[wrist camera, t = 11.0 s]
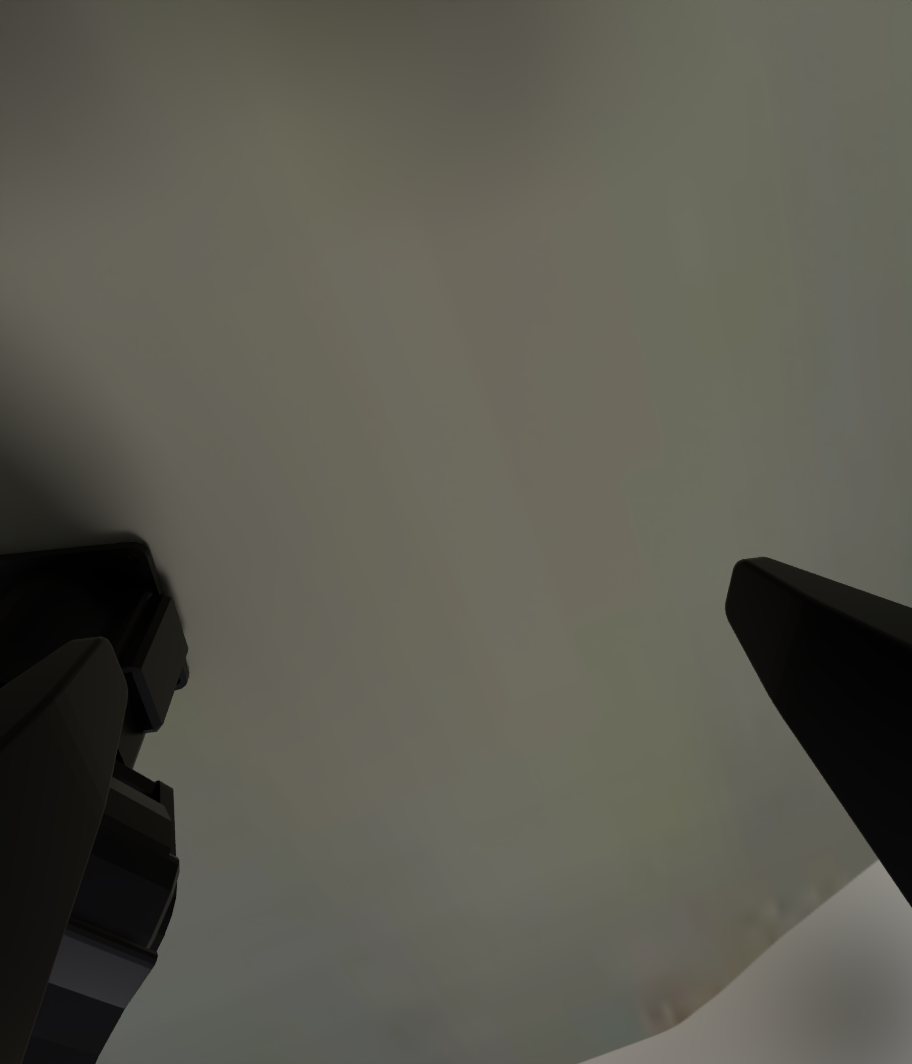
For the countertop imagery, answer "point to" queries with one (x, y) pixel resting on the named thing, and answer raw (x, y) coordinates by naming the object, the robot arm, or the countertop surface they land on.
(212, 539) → the countertop surface
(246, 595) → the countertop surface
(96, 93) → the countertop surface
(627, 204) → the countertop surface
